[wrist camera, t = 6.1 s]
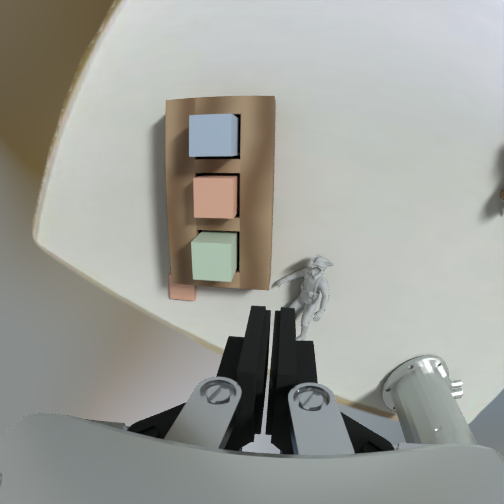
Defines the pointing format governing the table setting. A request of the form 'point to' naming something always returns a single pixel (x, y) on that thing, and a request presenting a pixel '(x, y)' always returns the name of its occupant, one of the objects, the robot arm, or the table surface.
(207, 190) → the salmon pink rectangular block
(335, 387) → the table surface
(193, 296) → the tile
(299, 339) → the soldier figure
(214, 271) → the mint green block
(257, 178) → the board
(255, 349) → the robot arm
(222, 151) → the light blue block
